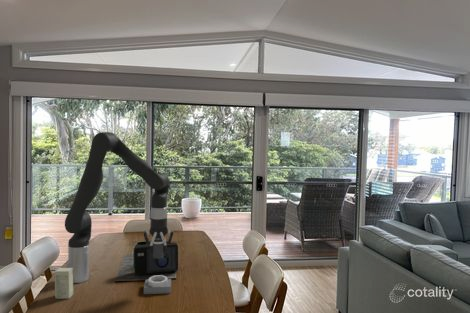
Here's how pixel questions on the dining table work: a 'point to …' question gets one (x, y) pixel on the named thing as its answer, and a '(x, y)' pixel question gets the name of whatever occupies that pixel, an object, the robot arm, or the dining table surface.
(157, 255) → the lens
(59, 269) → the skincare box
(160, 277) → the mount block
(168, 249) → the camera
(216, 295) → the dining table surface
